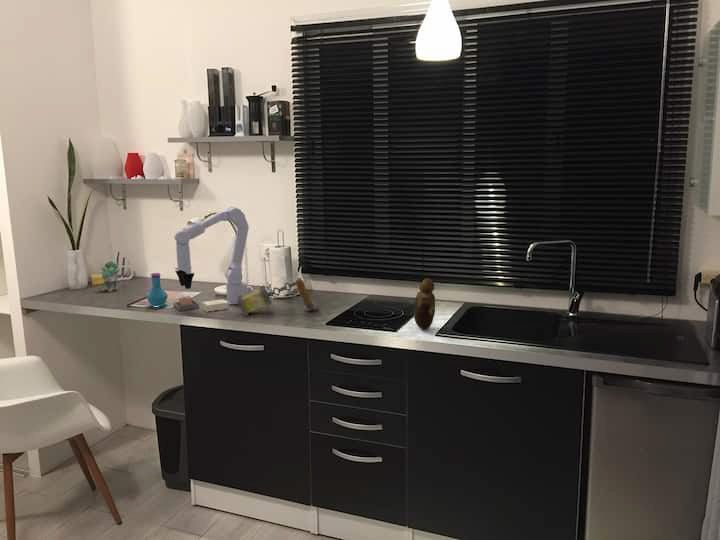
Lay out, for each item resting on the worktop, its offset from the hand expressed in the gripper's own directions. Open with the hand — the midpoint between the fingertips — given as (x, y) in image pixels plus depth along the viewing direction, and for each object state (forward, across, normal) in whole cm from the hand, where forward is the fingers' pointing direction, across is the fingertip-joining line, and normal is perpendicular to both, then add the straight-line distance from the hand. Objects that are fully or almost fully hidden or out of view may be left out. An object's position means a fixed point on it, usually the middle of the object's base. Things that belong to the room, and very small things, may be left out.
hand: (185, 287), depth 281 cm
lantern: (+10, +31, +31) cm, 45 cm away
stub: (+9, 0, -1) cm, 9 cm away
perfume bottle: (+10, -11, -10) cm, 18 cm away
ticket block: (+9, +10, +10) cm, 17 cm away
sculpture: (+10, +87, +68) cm, 111 cm away
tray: (+9, 0, 0) cm, 9 cm away
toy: (+9, -58, -22) cm, 63 cm away
